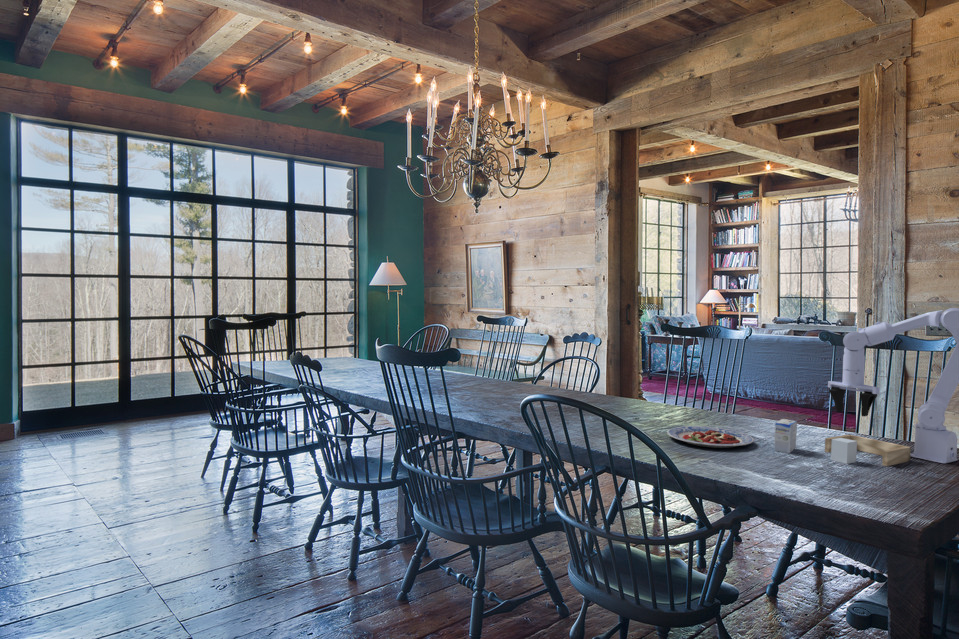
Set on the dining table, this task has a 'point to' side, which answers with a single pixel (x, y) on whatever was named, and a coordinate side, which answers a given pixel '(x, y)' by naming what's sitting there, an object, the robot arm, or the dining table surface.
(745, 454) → the dining table surface
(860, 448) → the birch frame
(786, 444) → the medicine box
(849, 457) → the block
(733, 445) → the ceramic plate
